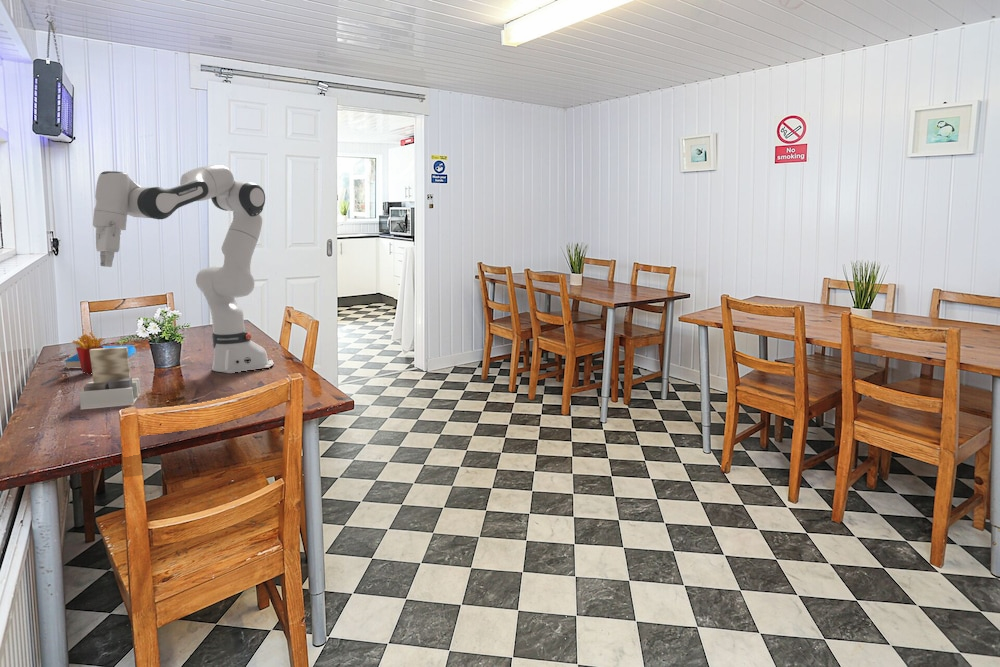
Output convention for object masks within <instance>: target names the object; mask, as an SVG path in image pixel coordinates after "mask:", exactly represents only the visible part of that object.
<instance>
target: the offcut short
mask: <svg viewBox="0 0 1000 667" xmlns="http://www.w3.org/2000/svg"><path fill="white" fill-rule="evenodd" d="M106 389H109V387H108V382H104V383H91V384H88V383H86V384H85V386H83V391H94V390H106Z"/></svg>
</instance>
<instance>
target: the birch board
mask: <svg viewBox="0 0 1000 667" xmlns="http://www.w3.org/2000/svg"><path fill="white" fill-rule="evenodd" d="M89 351H90V359H91V366H92V374H91V375H92V382H94V383H104V382H109V381H110V380H111V379H115V378H128V377H132V376H131V367H130V359H129V358H130V356H129V357H128V348H127V347H116V348H100V349H90V350H89Z"/></svg>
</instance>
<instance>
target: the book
mask: <svg viewBox="0 0 1000 667" xmlns="http://www.w3.org/2000/svg"><path fill="white" fill-rule="evenodd" d="M102 346H103V348H116V347H127V348H128V357H129V358H130V357H131V356H132V355H134V354H135V353H136V347H135V346H134V344H127V345H126V344H125V345H123V344H122V345H102ZM133 353H134V354H133ZM130 355H131V356H130ZM64 362H65V367H81V364H80V360H79V356H78V353H76V354H74V355H73V356H71V357H69V358H67V359H64Z"/></svg>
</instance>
